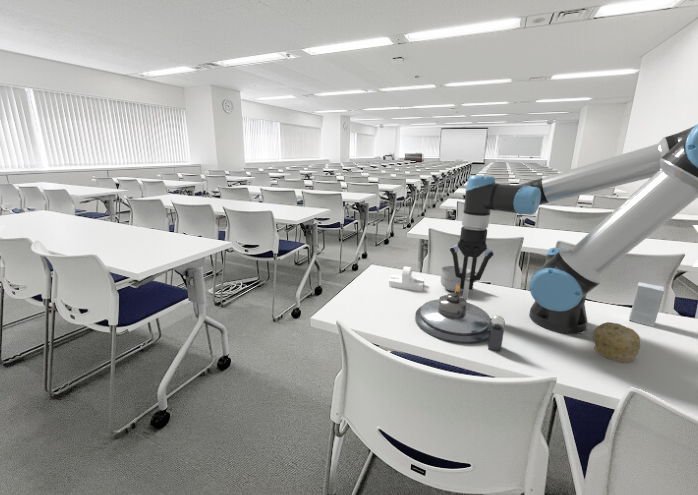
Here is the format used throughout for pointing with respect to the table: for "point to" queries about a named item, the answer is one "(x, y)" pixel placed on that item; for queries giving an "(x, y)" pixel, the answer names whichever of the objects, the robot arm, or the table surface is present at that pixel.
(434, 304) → the turntable
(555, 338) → the table surface
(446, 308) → the cover
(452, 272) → the teacup
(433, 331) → the turntable base
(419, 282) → the slotted bracket
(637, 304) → the skincare box
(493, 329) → the dark bottle
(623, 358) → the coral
